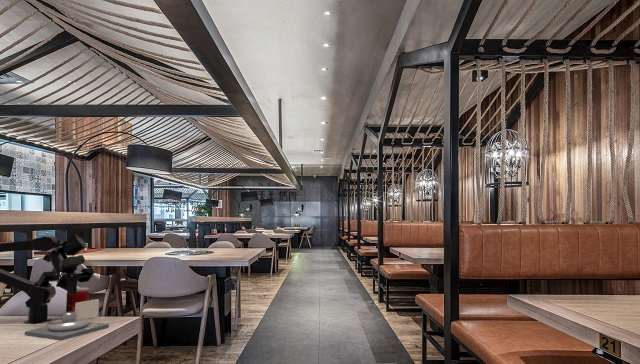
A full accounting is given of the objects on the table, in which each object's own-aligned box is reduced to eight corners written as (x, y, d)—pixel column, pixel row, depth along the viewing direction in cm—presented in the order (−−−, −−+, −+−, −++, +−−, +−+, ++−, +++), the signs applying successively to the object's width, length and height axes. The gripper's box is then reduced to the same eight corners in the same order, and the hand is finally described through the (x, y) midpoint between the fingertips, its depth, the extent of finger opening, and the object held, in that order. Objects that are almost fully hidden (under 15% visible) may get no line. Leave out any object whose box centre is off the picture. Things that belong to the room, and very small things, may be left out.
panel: (24, 335, 142) (24, 330, 142) (74, 323, 159) (75, 319, 159) (61, 340, 135) (61, 335, 136) (109, 327, 152) (109, 323, 152)
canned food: (92, 314, 174) (93, 287, 176) (79, 318, 167) (80, 290, 168) (74, 314, 175) (76, 287, 176) (61, 318, 167) (62, 290, 168)
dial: (59, 332, 139) (61, 308, 140) (40, 328, 145) (42, 305, 146) (106, 322, 153) (107, 300, 154) (87, 319, 159) (88, 297, 160)
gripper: (44, 249, 154) (58, 282, 148) (93, 247, 170) (108, 276, 164) (31, 270, 157) (45, 303, 151) (81, 266, 173) (95, 295, 167)
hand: (75, 294), depth 158 cm, fingers closed
